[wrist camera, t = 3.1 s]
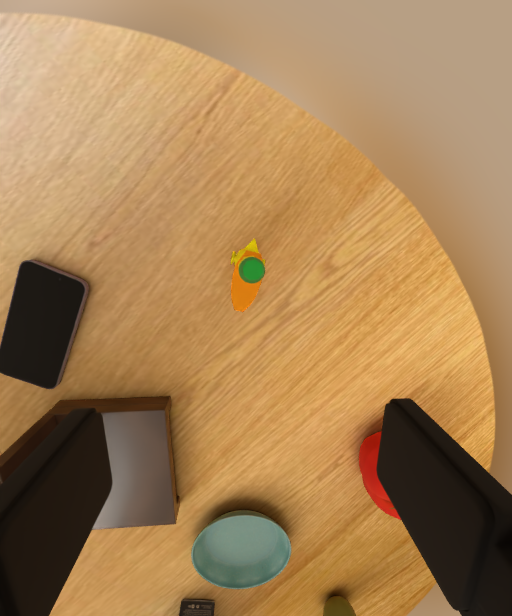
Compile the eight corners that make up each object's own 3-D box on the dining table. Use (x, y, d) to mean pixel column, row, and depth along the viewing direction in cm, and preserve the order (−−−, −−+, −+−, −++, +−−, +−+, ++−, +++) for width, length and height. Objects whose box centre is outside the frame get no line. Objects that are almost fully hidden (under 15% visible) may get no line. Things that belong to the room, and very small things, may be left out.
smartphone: (-7, 371, 33) (20, 256, 30) (0, 366, 34) (28, 255, 31) (55, 392, 34) (88, 284, 31) (60, 387, 36) (93, 282, 32)
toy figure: (252, 296, 34) (260, 327, 22) (223, 289, 33) (216, 317, 22) (266, 241, 32) (283, 244, 21) (237, 233, 32) (237, 231, 20)
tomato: (379, 404, 39) (418, 450, 31) (431, 439, 41) (481, 492, 33) (331, 456, 41) (356, 514, 32) (384, 488, 43) (420, 550, 34)
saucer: (181, 512, 41) (177, 530, 39) (277, 488, 41) (279, 504, 39) (208, 579, 45) (207, 600, 43) (296, 557, 45) (299, 576, 43)
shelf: (82, 510, 40) (26, 608, 29) (59, 400, 36) (-16, 469, 25) (180, 504, 41) (160, 597, 30) (170, 396, 36) (143, 461, 26)
